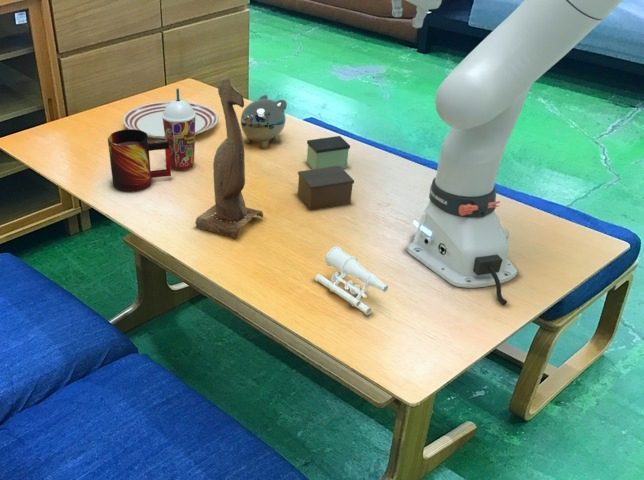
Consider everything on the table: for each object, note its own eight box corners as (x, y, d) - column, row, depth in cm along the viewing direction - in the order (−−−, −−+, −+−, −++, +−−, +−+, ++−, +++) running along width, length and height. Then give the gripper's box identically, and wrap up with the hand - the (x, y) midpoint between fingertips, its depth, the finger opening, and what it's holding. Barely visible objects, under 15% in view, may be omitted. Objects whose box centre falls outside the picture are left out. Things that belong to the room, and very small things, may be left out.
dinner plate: (184, 103, 211) (183, 92, 209) (237, 130, 193) (237, 118, 191) (106, 125, 199) (105, 113, 197) (156, 155, 181) (155, 144, 179)
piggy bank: (296, 138, 187) (298, 97, 180) (261, 156, 179) (262, 113, 172) (264, 128, 193) (266, 88, 186) (229, 145, 185) (229, 103, 178)
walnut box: (351, 204, 157) (354, 180, 153) (309, 211, 155) (311, 187, 152) (337, 188, 163) (339, 165, 160) (296, 194, 162) (298, 171, 158)
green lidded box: (347, 168, 172) (350, 145, 168) (314, 172, 170) (316, 150, 167) (337, 157, 177) (339, 135, 173) (305, 162, 175) (307, 140, 171)
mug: (172, 179, 170) (170, 133, 162) (125, 196, 164) (120, 149, 157) (152, 166, 176) (148, 121, 169) (106, 182, 170) (100, 136, 163)
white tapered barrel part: (372, 319, 126) (360, 311, 122) (322, 285, 135) (309, 276, 131) (398, 284, 125) (386, 274, 121) (345, 252, 134) (333, 242, 130)
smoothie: (193, 174, 172) (190, 95, 159) (162, 172, 174) (156, 94, 161) (200, 160, 178) (197, 83, 166) (169, 158, 180) (164, 82, 167)
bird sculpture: (240, 241, 146) (242, 93, 126) (194, 228, 151) (189, 83, 131) (264, 218, 153) (269, 75, 133) (219, 207, 158) (217, 66, 138)
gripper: (457, -41, 135) (443, 32, 144) (408, -58, 151) (398, 9, 159) (428, -38, 134) (416, 35, 143) (382, -56, 150) (373, 12, 158)
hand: (406, 21), depth 151 cm, fingers open, 8 cm apart
